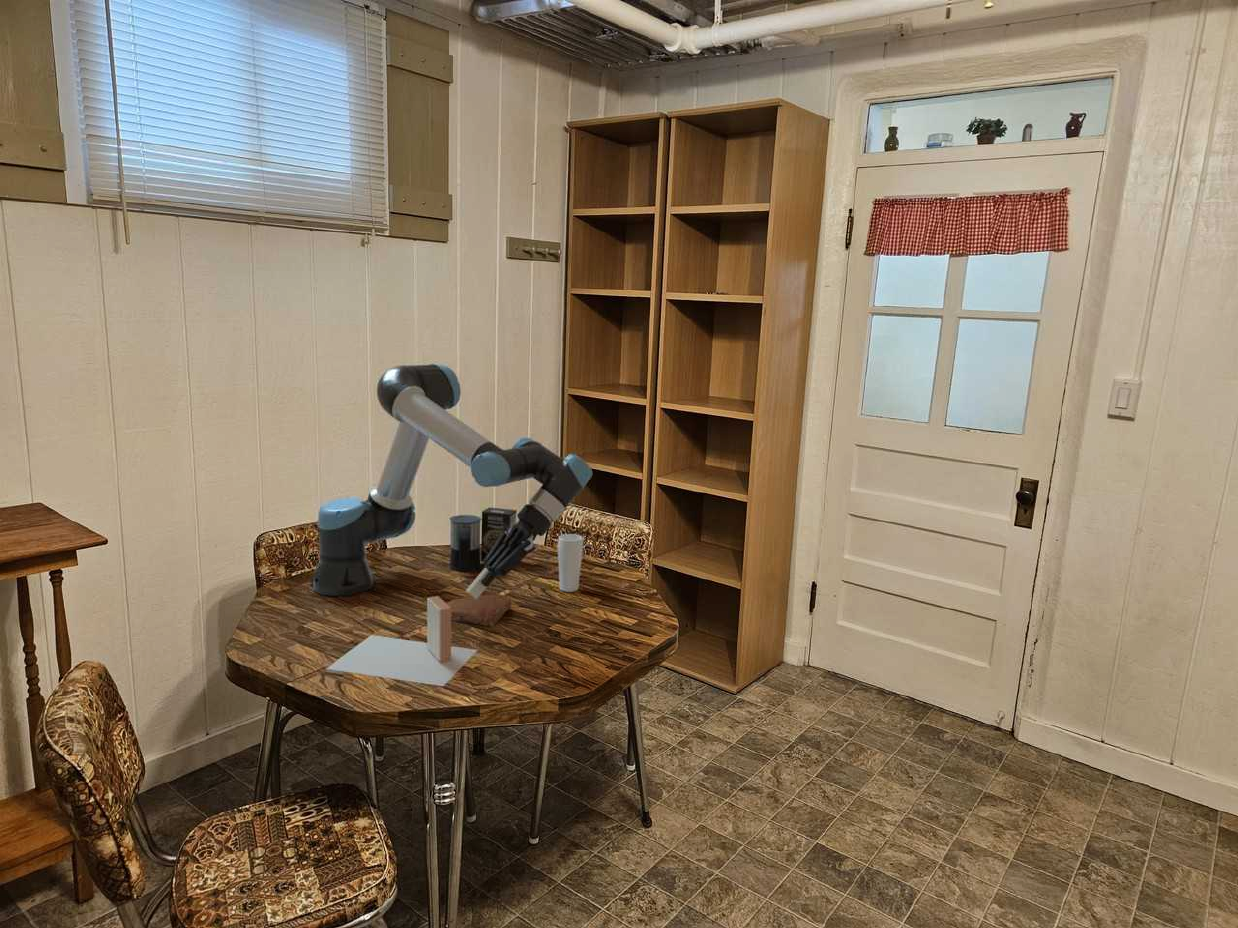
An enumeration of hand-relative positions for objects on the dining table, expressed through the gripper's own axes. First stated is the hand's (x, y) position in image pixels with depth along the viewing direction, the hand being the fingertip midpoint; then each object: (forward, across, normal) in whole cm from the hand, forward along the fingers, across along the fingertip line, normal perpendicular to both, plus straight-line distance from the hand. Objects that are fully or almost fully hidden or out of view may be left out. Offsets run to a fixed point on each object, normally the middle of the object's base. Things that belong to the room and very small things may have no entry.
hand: (471, 594), depth 172 cm
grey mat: (+20, +2, 0) cm, 20 cm away
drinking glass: (-18, +26, -38) cm, 49 cm away
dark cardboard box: (-13, +56, -32) cm, 66 cm away
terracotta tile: (+14, +1, -4) cm, 15 cm away
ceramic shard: (+3, +20, -17) cm, 26 cm away
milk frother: (-8, +54, -27) cm, 61 cm away
